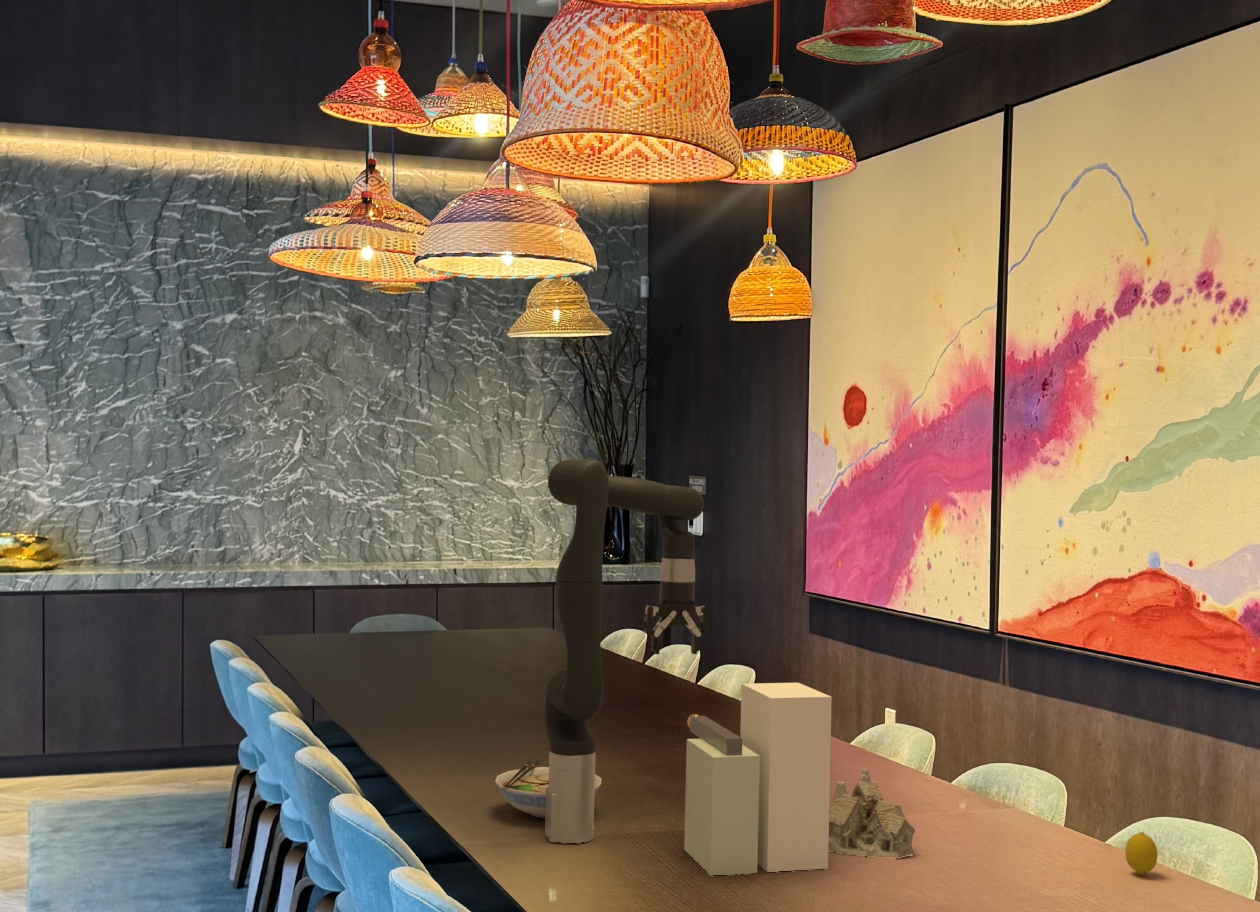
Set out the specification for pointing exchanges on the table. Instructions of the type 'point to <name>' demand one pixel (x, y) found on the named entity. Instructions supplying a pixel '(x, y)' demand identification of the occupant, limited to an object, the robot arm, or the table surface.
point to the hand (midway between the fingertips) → (675, 653)
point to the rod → (715, 735)
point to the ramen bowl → (528, 788)
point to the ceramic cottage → (867, 822)
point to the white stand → (790, 772)
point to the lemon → (1141, 853)
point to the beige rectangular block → (722, 809)
